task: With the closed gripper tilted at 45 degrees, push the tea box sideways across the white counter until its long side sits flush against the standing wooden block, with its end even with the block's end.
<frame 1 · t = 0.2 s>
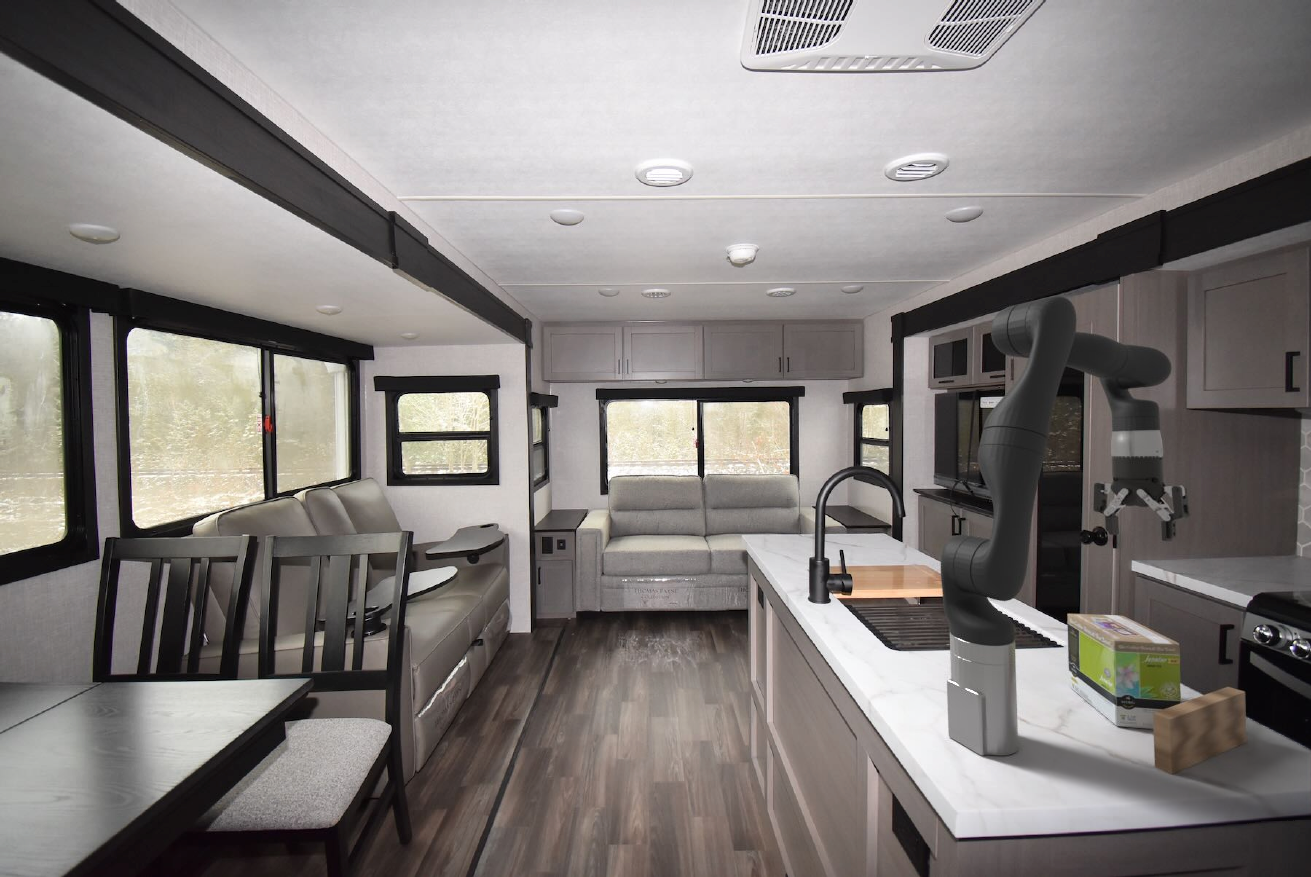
hand: (1139, 537, 105), 29 cm above the worktop, tool pointing down, fingers open, 8 cm apart
tea box: (1121, 708, 98), on the worktop
wooden block: (1202, 754, 83), on the worktop
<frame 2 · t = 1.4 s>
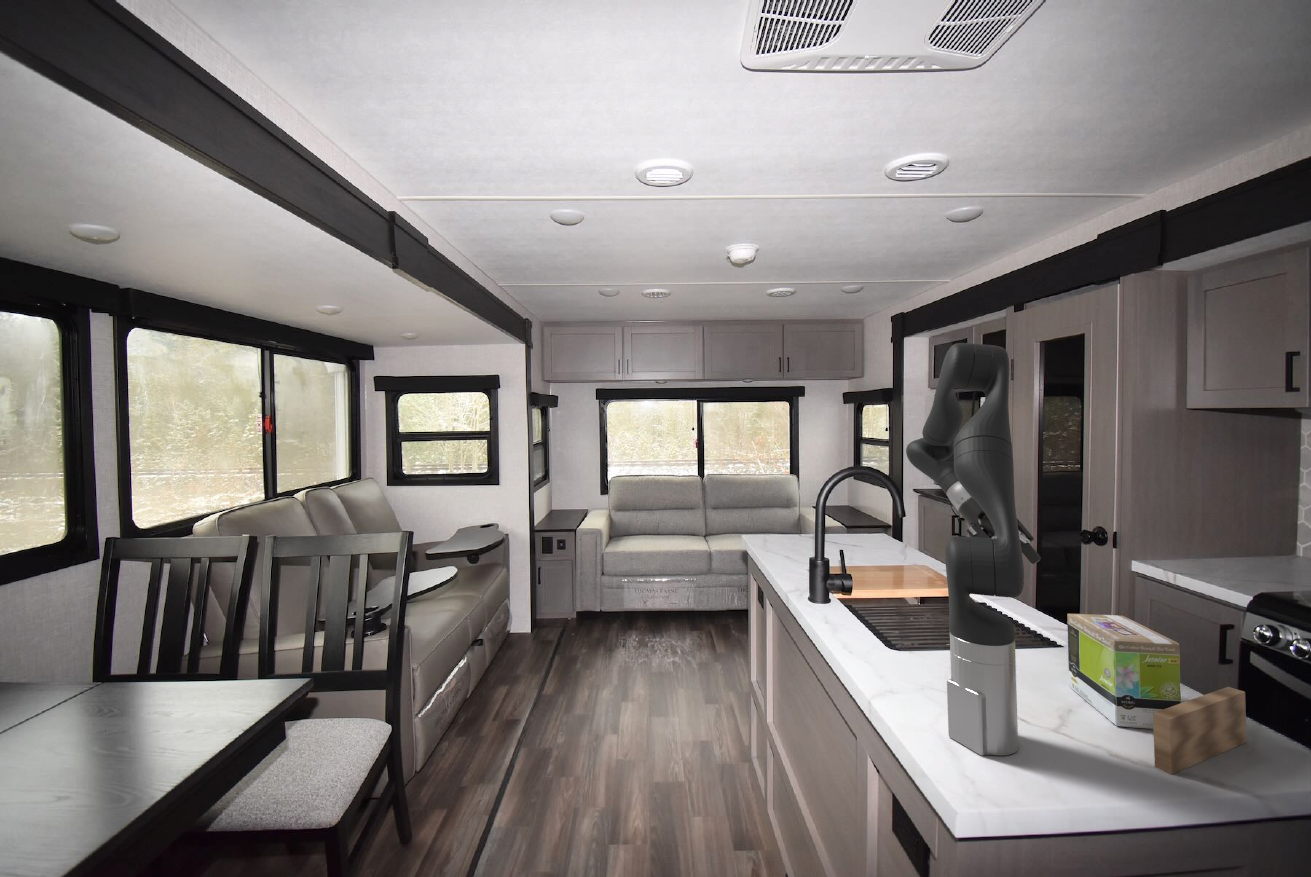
hand: (1025, 563, 113), 22 cm above the worktop, tool tilted 45°, fingers open, 7 cm apart
nothing on the worktop moved.
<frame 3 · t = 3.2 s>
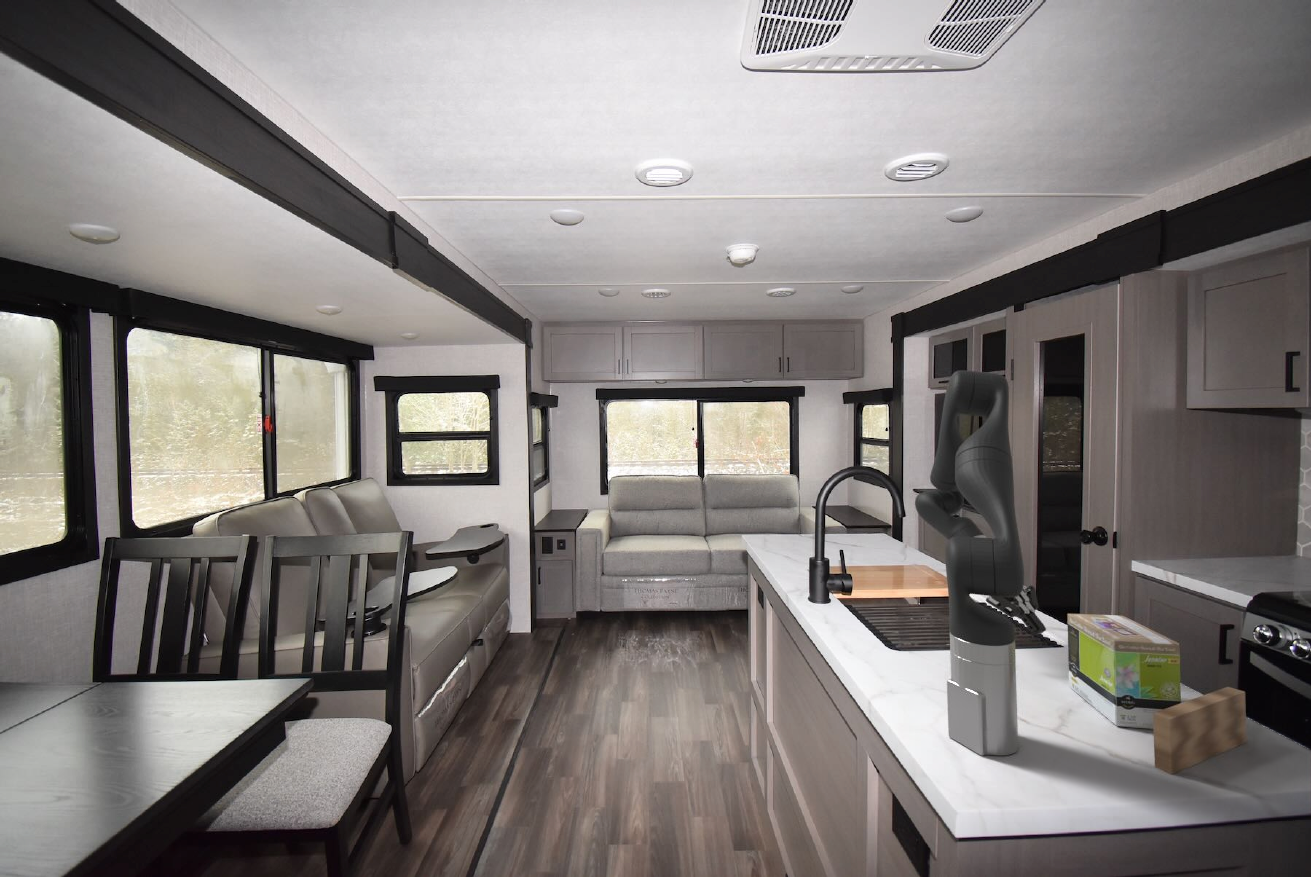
hand: (1040, 632, 111), 9 cm above the worktop, tool tilted 45°, fingers closed
nothing on the worktop moved.
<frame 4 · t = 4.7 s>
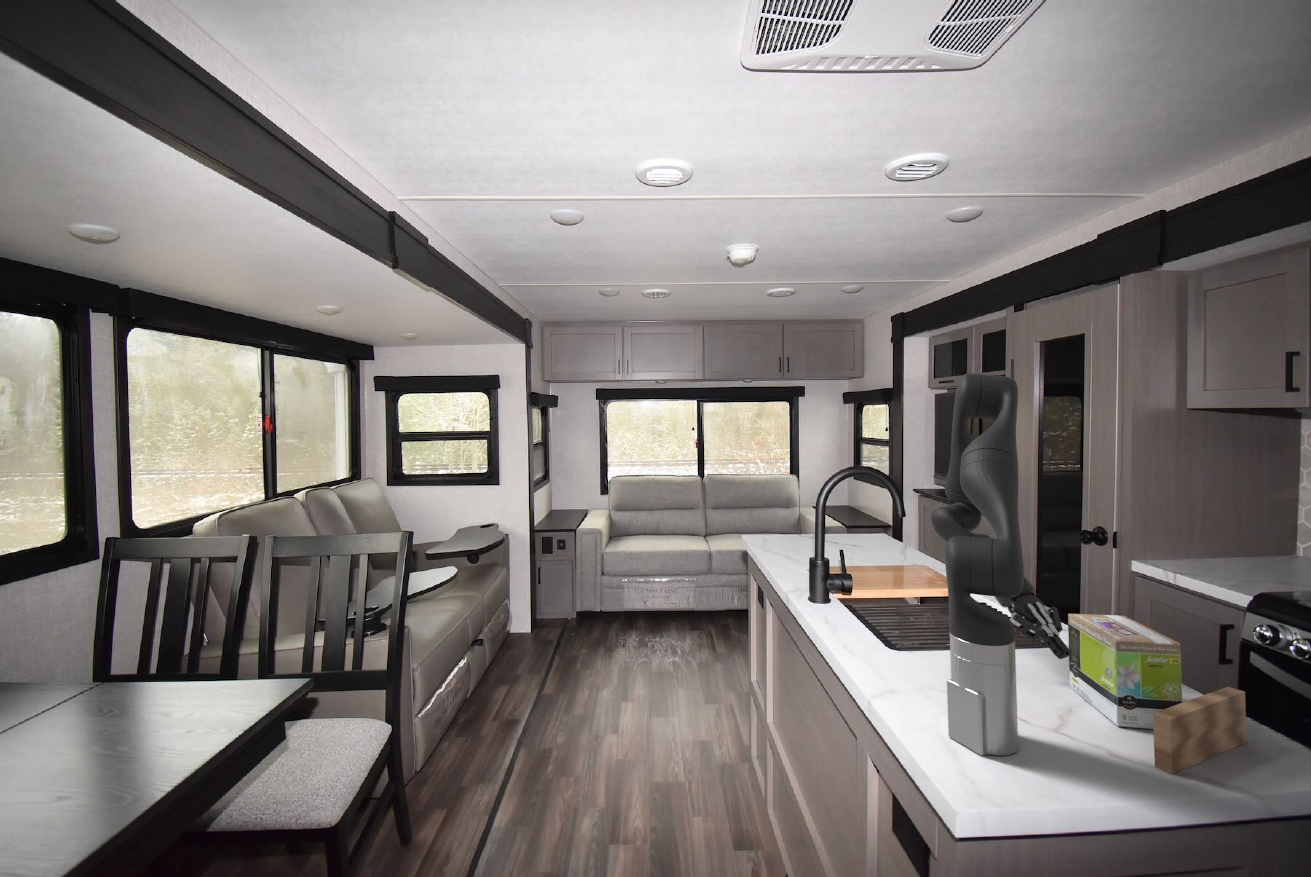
hand: (1065, 656, 106), 6 cm above the worktop, tool tilted 45°, fingers closed
tea box: (1121, 708, 98), on the worktop, touching gripper
everything else where it was.
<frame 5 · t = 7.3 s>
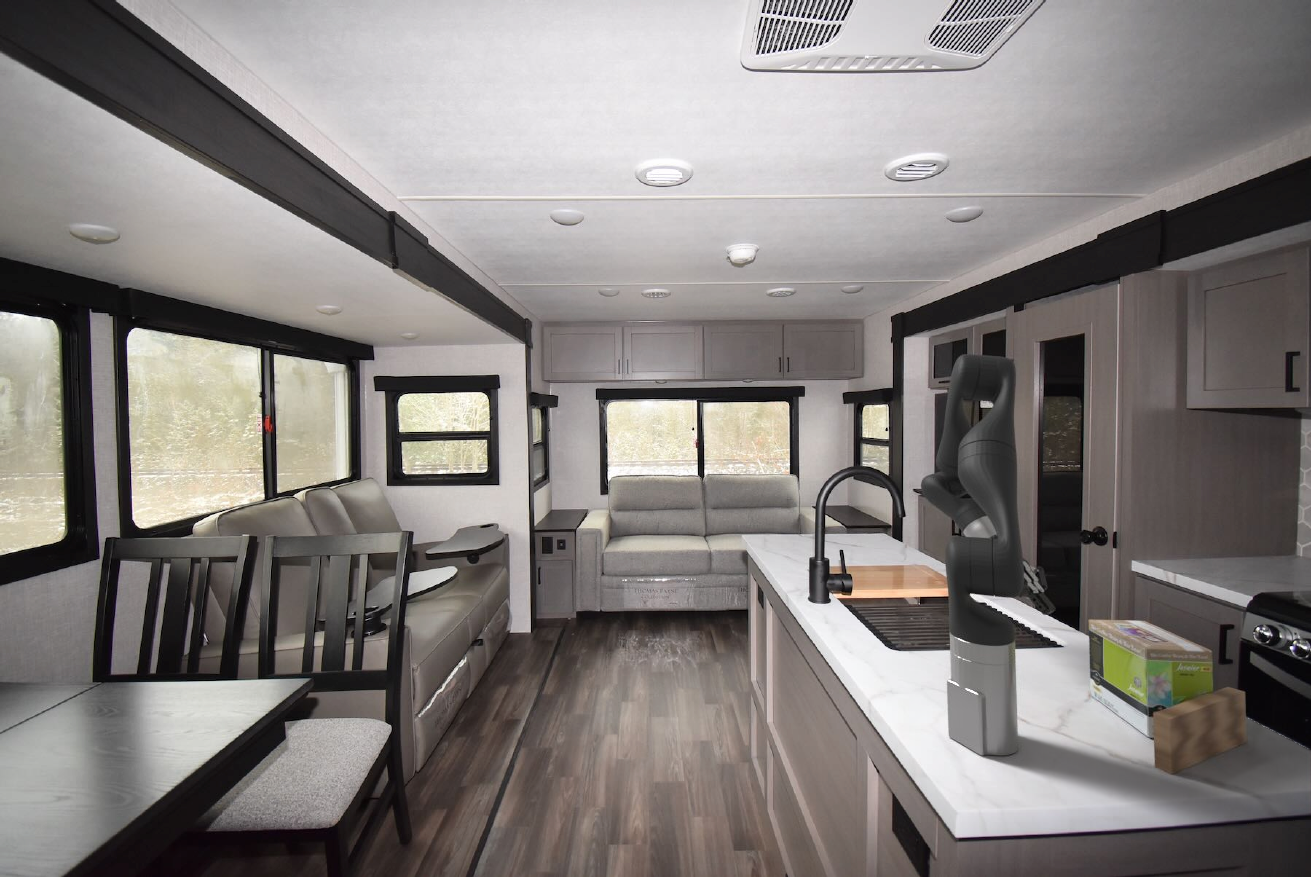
hand: (1050, 612, 109), 14 cm above the worktop, tool tilted 45°, fingers closed
tea box: (1147, 718, 94), on the worktop
everything else where it was.
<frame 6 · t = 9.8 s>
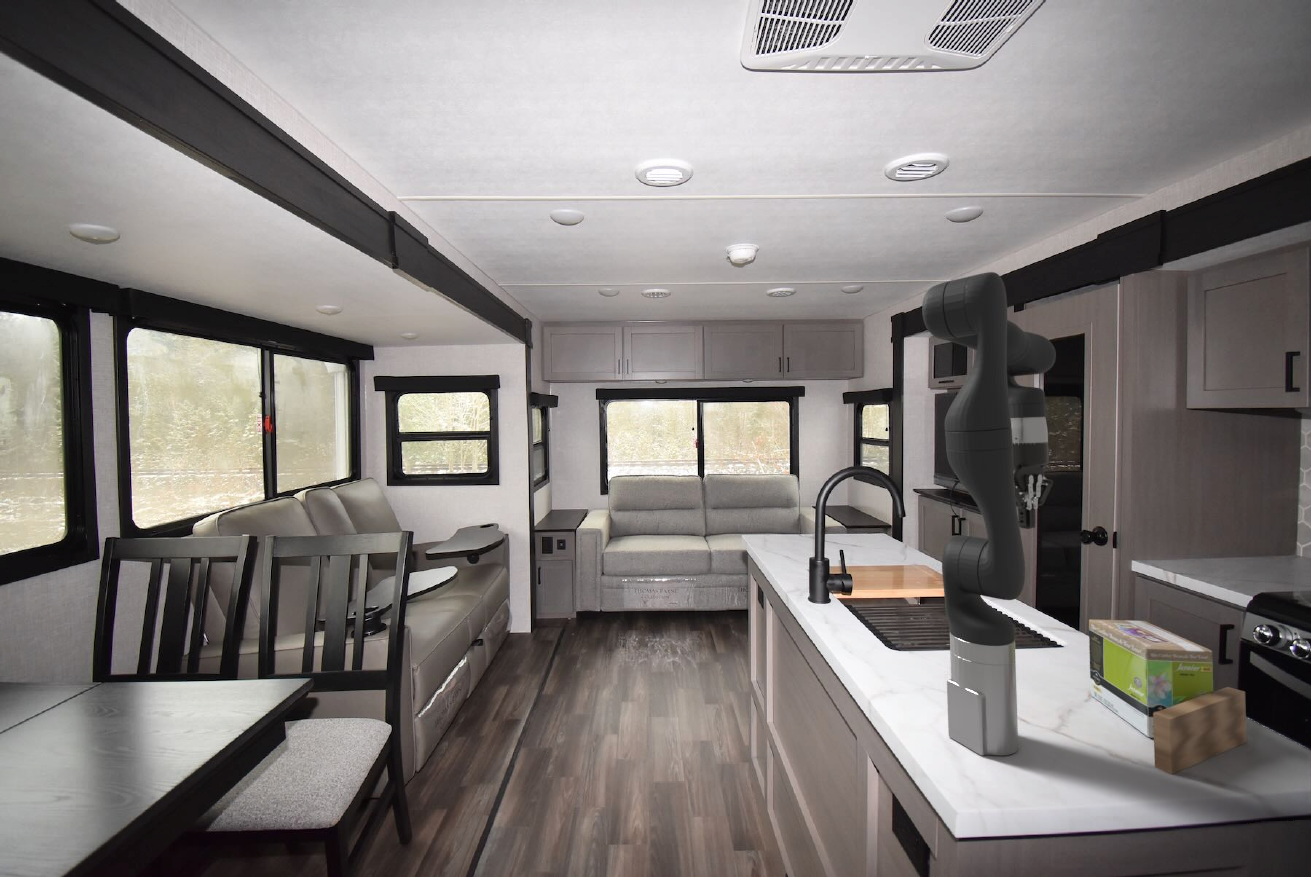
hand: (1027, 528, 108), 31 cm above the worktop, tool pointing down, fingers closed
nothing on the worktop moved.
at the end: tea box 0.2 cm from the target spot on the worktop beside the wooden block, on the worktop; tea box tilted 0° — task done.
